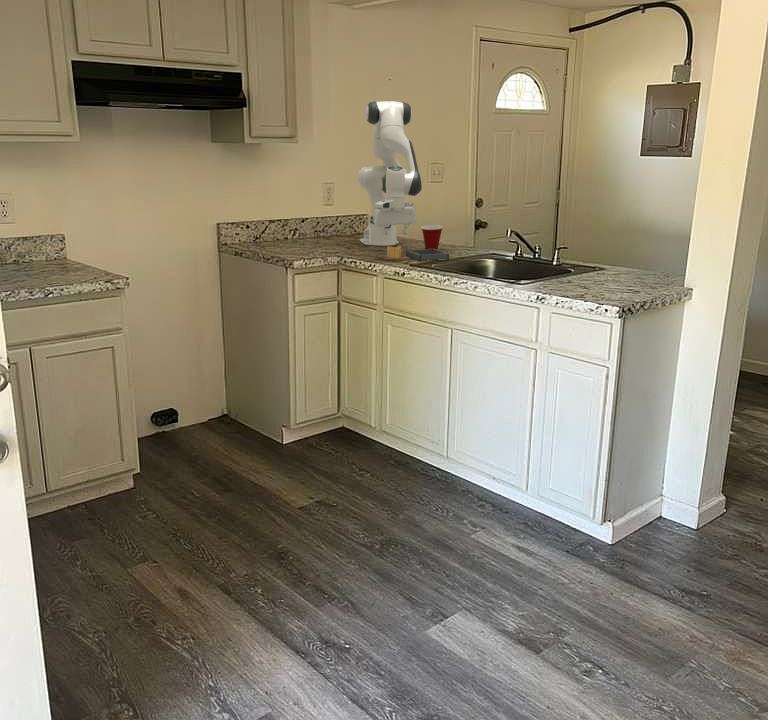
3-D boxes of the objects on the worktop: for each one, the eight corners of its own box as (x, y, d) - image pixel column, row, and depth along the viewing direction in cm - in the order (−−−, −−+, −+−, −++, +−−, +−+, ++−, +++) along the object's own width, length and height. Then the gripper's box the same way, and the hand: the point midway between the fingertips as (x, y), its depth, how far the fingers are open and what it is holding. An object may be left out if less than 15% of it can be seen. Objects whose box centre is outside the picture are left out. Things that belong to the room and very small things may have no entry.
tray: (405, 256, 356) (405, 250, 355) (433, 254, 361) (434, 248, 360) (419, 261, 343) (420, 255, 342) (448, 259, 348) (449, 253, 348)
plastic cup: (415, 250, 374) (416, 225, 371) (432, 248, 380) (433, 224, 377) (429, 253, 366) (430, 228, 362) (446, 251, 372) (447, 226, 369)
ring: (385, 255, 351) (385, 246, 349) (397, 255, 353) (397, 245, 352) (390, 257, 345) (391, 248, 344) (402, 257, 348) (403, 247, 346)
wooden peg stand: (378, 257, 352) (378, 243, 350) (399, 256, 357) (400, 242, 355) (388, 261, 343) (388, 247, 341) (410, 259, 347) (410, 246, 345)
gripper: (412, 202, 349) (412, 232, 353) (371, 203, 341) (371, 234, 345) (419, 203, 343) (418, 234, 347) (377, 204, 335) (377, 236, 339)
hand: (394, 234), depth 346 cm, fingers open, 8 cm apart
